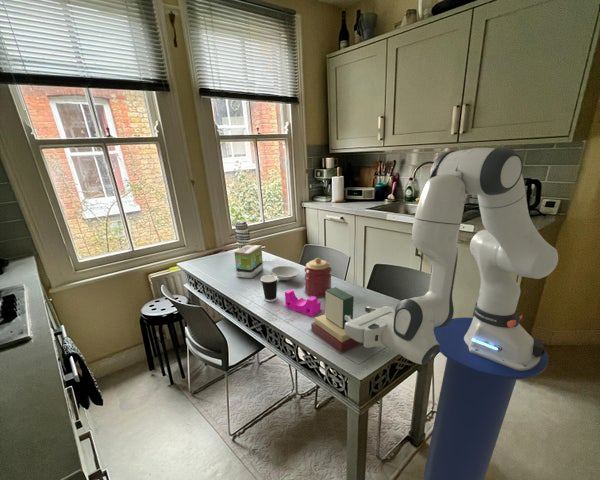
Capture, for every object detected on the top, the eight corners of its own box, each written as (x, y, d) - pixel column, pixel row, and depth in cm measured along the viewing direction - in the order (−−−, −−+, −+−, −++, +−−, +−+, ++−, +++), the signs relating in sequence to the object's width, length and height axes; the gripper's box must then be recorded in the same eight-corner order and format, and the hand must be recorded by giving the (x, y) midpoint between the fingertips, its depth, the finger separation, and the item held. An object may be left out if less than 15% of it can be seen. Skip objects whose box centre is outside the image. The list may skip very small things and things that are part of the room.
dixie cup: (282, 299, 150) (280, 278, 145) (267, 304, 146) (265, 283, 141) (273, 294, 156) (272, 273, 151) (259, 298, 151) (257, 277, 147)
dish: (265, 278, 174) (264, 270, 171) (285, 271, 182) (285, 263, 180) (285, 288, 161) (284, 279, 159) (306, 280, 170) (306, 271, 167)
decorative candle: (252, 262, 198) (247, 222, 188) (237, 263, 198) (232, 223, 188) (253, 257, 207) (249, 219, 196) (239, 258, 206) (234, 220, 196)
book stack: (368, 340, 117) (369, 326, 114) (341, 353, 111) (341, 338, 108) (336, 320, 131) (336, 307, 128) (311, 330, 124) (310, 317, 122)
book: (352, 325, 115) (353, 296, 110) (343, 329, 113) (343, 300, 108) (334, 314, 123) (335, 286, 118) (325, 318, 121) (325, 289, 116)
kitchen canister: (335, 294, 152) (335, 260, 145) (309, 299, 149) (308, 264, 142) (325, 284, 164) (325, 252, 156) (302, 288, 161) (300, 255, 153)
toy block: (320, 310, 139) (320, 295, 136) (312, 316, 134) (311, 300, 131) (294, 301, 147) (293, 287, 144) (285, 307, 143) (284, 292, 140)
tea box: (252, 278, 174) (250, 253, 168) (236, 277, 177) (233, 252, 171) (263, 268, 187) (261, 244, 181) (248, 267, 190) (245, 243, 184)
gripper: (410, 311, 101) (378, 295, 112) (364, 332, 91) (333, 313, 102) (408, 327, 104) (377, 311, 114) (363, 350, 94) (333, 329, 104)
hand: (356, 312), depth 108 cm, fingers open, 8 cm apart
